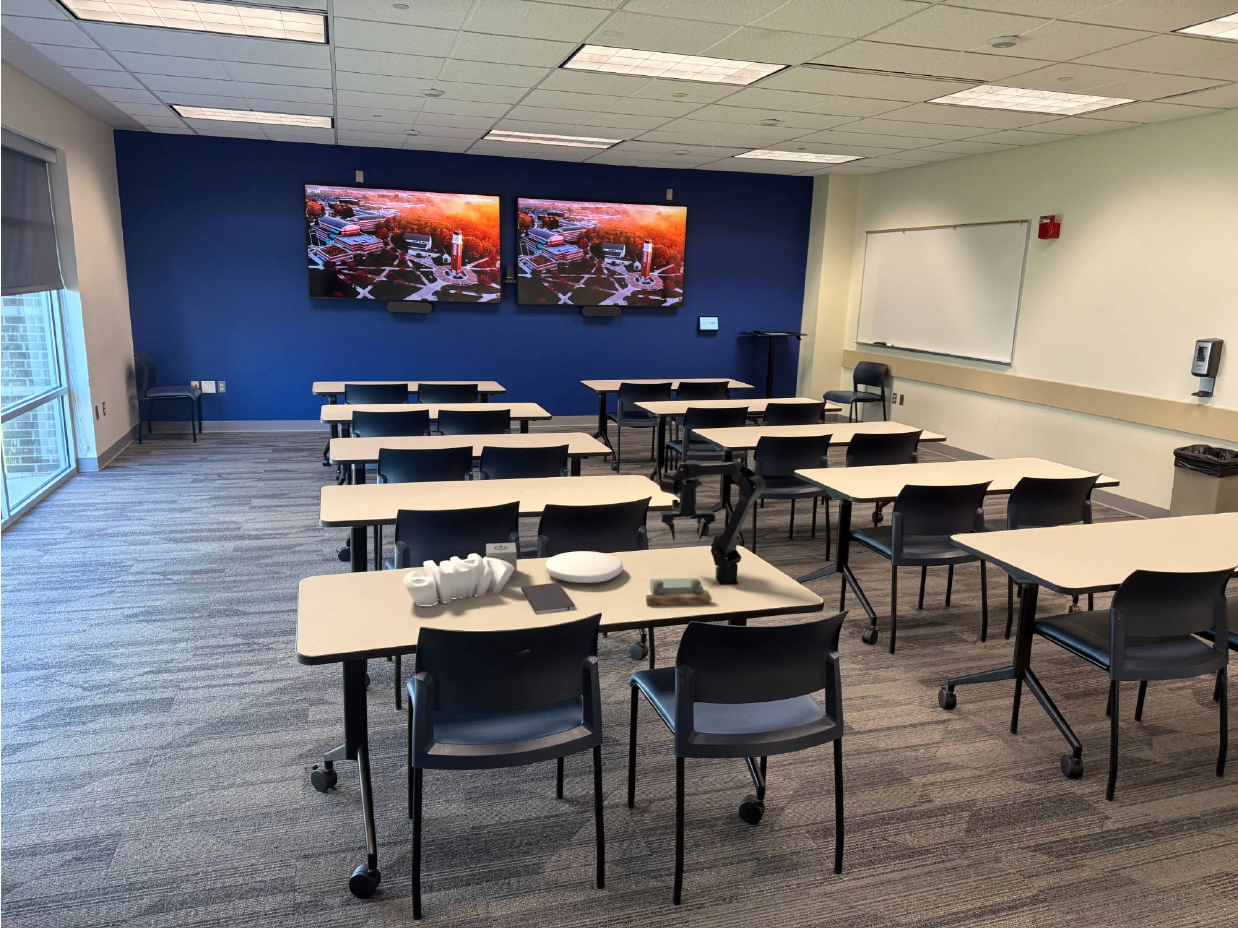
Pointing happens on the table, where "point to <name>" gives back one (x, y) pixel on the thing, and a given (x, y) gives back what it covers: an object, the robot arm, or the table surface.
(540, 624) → the table surface
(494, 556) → the icon cube
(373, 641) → the table surface
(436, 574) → the white wavy slab sculpture
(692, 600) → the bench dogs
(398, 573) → the table surface
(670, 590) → the painted plate block
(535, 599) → the notebook
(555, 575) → the plate
